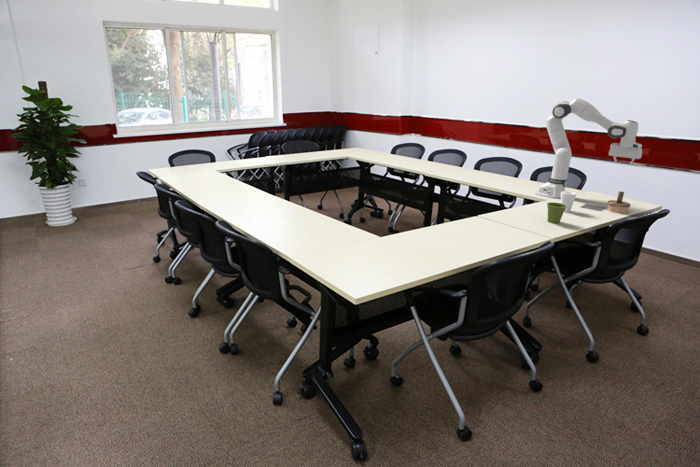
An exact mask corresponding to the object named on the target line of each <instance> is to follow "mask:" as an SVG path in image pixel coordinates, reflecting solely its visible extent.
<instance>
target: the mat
mask: <svg viewBox="0 0 700 467" xmlns="http://www.w3.org/2000/svg"><path fill="white" fill-rule="evenodd" d="M580 208H582V209H587V210H592V211H596V212H602V211H605V210H607V207H605V206H599V205H594V204H588V203H586V204H583V205H580Z"/></svg>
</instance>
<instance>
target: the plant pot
mask: <svg viewBox="0 0 700 467" xmlns="http://www.w3.org/2000/svg"><path fill="white" fill-rule="evenodd" d="M546 205H547V206H546V208H547V222H548V223H549V222H550V223H552V224H559V223H560V222H561V219H562V217H563V214H564V213H565V212H564V211H565V209H566V207H567V205H564V204H561V203H559V202H554V201H553V202H547V203H546Z"/></svg>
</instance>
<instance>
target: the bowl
mask: <svg viewBox="0 0 700 467" xmlns="http://www.w3.org/2000/svg"><path fill="white" fill-rule="evenodd" d="M629 209H630V207H617V206H612V205H609V204H608V203H607V207H606V210H607V211H609V212H610V213H615V214H628V212H629Z"/></svg>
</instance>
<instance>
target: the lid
mask: <svg viewBox="0 0 700 467" xmlns="http://www.w3.org/2000/svg"><path fill="white" fill-rule="evenodd" d="M624 194H625V192H624V191H618V194H617V199H616V200H612V199H608V200H607V202H606V203H607V205H608V204H609V205H612V206H617V207H629V208H630V207H631V203H630V202H627V201H623V199H624Z"/></svg>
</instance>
